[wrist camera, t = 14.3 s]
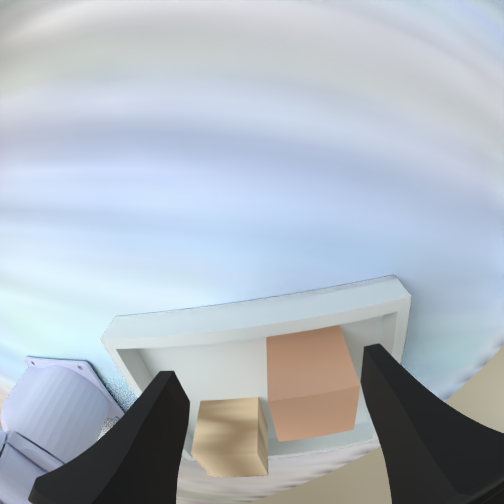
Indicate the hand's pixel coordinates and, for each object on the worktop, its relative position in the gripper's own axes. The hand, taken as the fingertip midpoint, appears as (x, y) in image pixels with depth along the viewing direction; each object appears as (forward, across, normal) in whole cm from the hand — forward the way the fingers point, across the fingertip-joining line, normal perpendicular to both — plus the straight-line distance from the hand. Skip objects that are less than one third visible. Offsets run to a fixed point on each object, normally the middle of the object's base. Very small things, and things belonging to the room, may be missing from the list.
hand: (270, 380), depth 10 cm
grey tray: (+7, +1, +9) cm, 11 cm away
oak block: (+6, +4, +11) cm, 14 cm away
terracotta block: (+6, -2, +5) cm, 8 cm away
